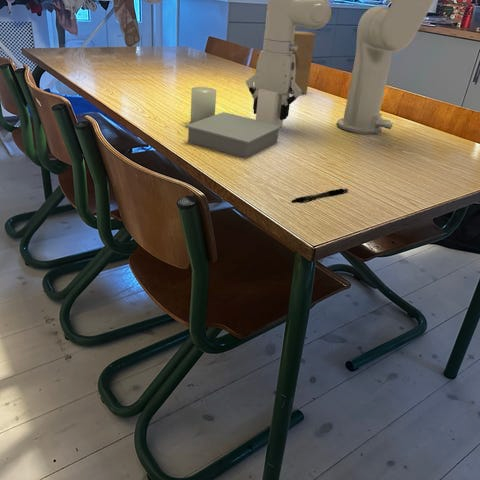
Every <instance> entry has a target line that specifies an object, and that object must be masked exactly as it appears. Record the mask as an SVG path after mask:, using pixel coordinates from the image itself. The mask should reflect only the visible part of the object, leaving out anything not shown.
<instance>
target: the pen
mask: <svg viewBox="0 0 480 480" xmlns="http://www.w3.org/2000/svg"><path fill="white" fill-rule="evenodd" d="M348 191H349V189H348V188H339V189H331V190H328V191H324V192H320V193H314V194H310V195H305V196H298V197H295V198H294V199H292V200H291V203H292V204H293V203H300V204H304V203H306V204H307V203H309V202H312V201H316V200H317V199H321V198H326V197H333V196H337V195H342V194H344V193H347V192H348Z"/></svg>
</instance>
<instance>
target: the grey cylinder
mask: <svg viewBox="0 0 480 480" xmlns="http://www.w3.org/2000/svg"><path fill="white" fill-rule="evenodd" d="M190 93H191V98H190V99H191V100H190V122H189V124H190V123H194V122H197V121H200V120H203V119H205V118H208V117H211V116H214V115H216V105H217V104H216V103H217V102H216V101H217V100H216V99H217V89H215V88H212V87H206V86H194V87H192V88H191V92H190Z"/></svg>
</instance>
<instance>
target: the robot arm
mask: <svg viewBox="0 0 480 480" xmlns="http://www.w3.org/2000/svg"><path fill="white" fill-rule="evenodd" d="M387 1H388V2H390V3H391V4H390V6H385V5H377V6H373V7H370V8H369V9H367V10H366V11H365V12H364V13H363V14H362V15H361V17H360V19H359V22H358V25H357V31H356V47H355V55H354V56H355V57H354V61H353V62H354V63H353V68H352V72H351V76H350V77H351V78H350V82H349V86H348V87H349V88H348V93H347V98H346V104H345V108H344V109H345V110H344V113H343V118H339V119H337V121H336V125H337V127H339V129H342V130H344V131H348V132H351V133H355V134H356V133H357V134H365V135H374V134H379V133H381V131H382V128H384V129H388V130H391V129H392V128H393V124H394V123H393V122H394V121H393V122H392V121H391V120H390V119H383V117H382V116H383V113H380V111H381V107H382V103H383V98H384V94H385V90H386V85H387V80H388V76H389V72H390V69H391V68H390V67H391V61H392V52H400V51H401V50H404V49H405V48H406V47H407V46H408V45H410V44H411V42H412V41H413V39H414V38H415V37H416V35H417V33H418V32H419V29H420V28H421V26H422V24H423V22H424V20H425V18H426V16H427V15H428V13H429V10H430V8H431V7H432V6H433V3H434V1H435V0H387ZM266 5H267V6H266V18H265V26H264V36H263V44H262V45H263V47H262V50H260V52H259V56H258V59H257V63H256V67H255V68H256V69H255V74H254V75H252V76H250V77H249V78H248V79H247V80H245V84H246V86H247V88H248V91H249V92H250V94H251V97H252V98H253V103H252V105H253V107H252V110H253V114H254V115H256V111H257V101H258V91H259V89H266V90H271V91H276V92H278V94H279V95H281V98H282V101H283V105H281V111H280V120H283V121H284V120H286V119H287V117H288V116H289V113H290V105H291V104H292V103H294V102H295V101H296V100H298V98H299V97H300V96H301V95H303V94H302V90H301V89H300V88H299V87H298V85H297V84H296V83H295V55H294V54H292V52H293V51H297V49H298V46H297V45H295V44H294V33H295V31H296V27H302V28H305V29H309V30H310V29H312V30H317V29H321V28H323V27H325V26H326V25H327V24H328V23H329V21H330V19H331V18H332V17H331V16H332V6H331V5H330V3H329V1H328V0H267V4H266ZM293 90H294V94H289V93H291V92H293Z"/></svg>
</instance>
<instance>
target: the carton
mask: <svg viewBox="0 0 480 480" xmlns="http://www.w3.org/2000/svg"><path fill="white" fill-rule="evenodd" d="M281 105H283V101H282V98H281V95H279V94H278V92H276V91H271V90H266V89H259V91H258V101H257V111H256V114H255V120H259V121H263V122H267V123H271V124H275V125H279V126H283V122H284V120H280V111H281Z"/></svg>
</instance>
